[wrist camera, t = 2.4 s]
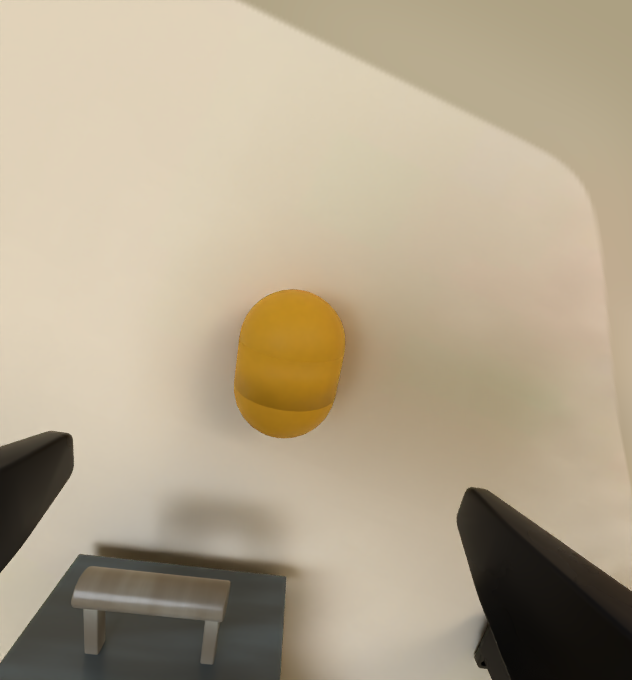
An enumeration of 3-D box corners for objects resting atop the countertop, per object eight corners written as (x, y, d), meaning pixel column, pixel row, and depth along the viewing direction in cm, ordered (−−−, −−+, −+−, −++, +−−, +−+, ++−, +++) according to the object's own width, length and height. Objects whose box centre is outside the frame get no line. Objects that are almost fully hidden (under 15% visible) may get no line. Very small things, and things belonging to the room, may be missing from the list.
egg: (254, 275, 15) (234, 289, 11) (348, 292, 16) (363, 311, 11) (239, 400, 17) (217, 452, 13) (324, 412, 17) (329, 467, 13)
